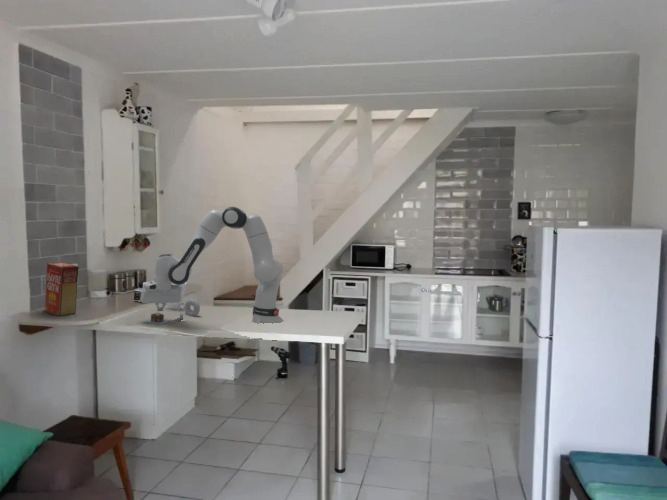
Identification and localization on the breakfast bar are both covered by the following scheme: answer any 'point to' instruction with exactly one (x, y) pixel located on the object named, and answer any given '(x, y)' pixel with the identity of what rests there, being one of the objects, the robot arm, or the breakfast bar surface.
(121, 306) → the breakfast bar surface
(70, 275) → the food packaging
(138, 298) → the medicine bottle
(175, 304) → the cup
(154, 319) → the ring
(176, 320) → the stand
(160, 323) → the hub
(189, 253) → the robot arm
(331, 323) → the breakfast bar surface
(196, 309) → the donut
